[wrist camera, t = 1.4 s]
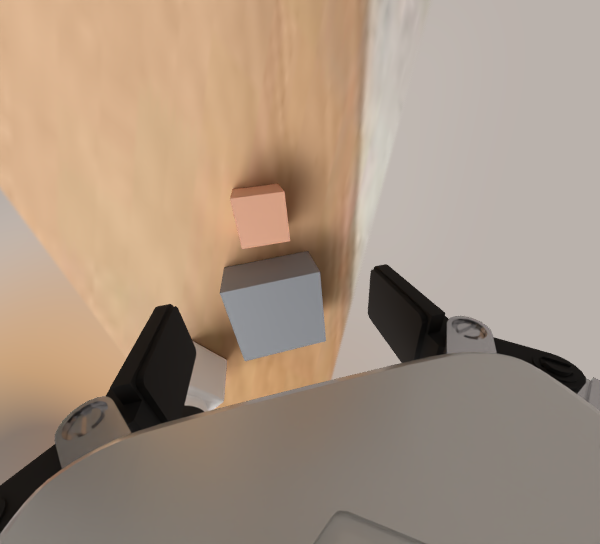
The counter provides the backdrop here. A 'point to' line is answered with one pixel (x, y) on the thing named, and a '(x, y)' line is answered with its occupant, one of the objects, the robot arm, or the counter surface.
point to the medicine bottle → (205, 382)
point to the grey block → (274, 304)
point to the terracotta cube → (260, 215)
